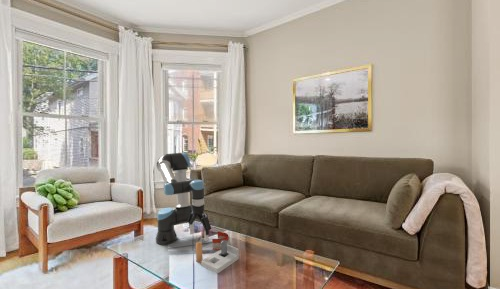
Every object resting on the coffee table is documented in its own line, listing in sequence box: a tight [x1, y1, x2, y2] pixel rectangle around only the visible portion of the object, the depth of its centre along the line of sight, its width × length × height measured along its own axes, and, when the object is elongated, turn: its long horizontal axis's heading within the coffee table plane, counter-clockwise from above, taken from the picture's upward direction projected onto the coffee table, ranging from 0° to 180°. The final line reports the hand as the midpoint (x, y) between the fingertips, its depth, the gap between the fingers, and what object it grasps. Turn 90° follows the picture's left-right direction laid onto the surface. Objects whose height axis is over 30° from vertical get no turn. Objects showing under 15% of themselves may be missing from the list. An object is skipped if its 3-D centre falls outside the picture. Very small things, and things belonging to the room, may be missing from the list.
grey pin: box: [221, 240, 227, 257], centre depth 173 cm, size 4×4×12 cm
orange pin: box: [195, 241, 204, 263], centre depth 170 cm, size 4×4×12 cm
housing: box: [200, 243, 240, 274], centre depth 169 cm, size 14×20×7 cm
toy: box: [211, 231, 230, 251], centre depth 189 cm, size 12×10×8 cm
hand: (199, 236), depth 169 cm, fingers open, 13 cm apart
